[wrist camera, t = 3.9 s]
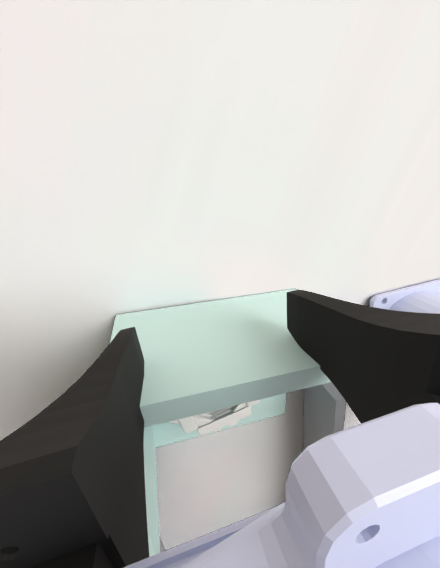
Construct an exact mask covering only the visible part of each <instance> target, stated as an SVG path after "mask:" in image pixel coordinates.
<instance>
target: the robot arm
mask: <svg viewBox="0 0 440 568" xmlns="http://www.w3.org/2000/svg"><path fill="white" fill-rule="evenodd" d="M287 329H288V330H289V332H290V334H291V335H292V337H293V338H294V340H295V341H296V342H297V344H298V345H299V346H300V347H301V349H302V350H304V351H305V352H306V353H307V354H308V355H309V356H310V357H311V358H312V359H313V360H314V361H316V362H317V363H318V364H319V365H320V369H321V371H322V372H323V373H324V374H325V375H326V376H327V377H328V378H329V380H330V381H331V382H332V383H333V384H334V386H335V387H336V388H337V390H338V391H339V392H340V394H341V395H342V397H343V398H344V399H345V401H346V402H347V403H348V405H349V406H350V408H351V409H352V411H353V412H354V414H355V415H356V416H357V418H358V419H359V421H360V422H361V424H359V425H356V426H353V427H350V428H348V429H345V430H342V431H339V432H336V433H333V434H331V435H328V436H326V437H324V438H322V439H320V440H319V441H317V442H315V443H313V444H311V445H309V446H308V447H306V449H305V450H304V451H303V452H302V453H301V454H300V455H299V456H298V457H297V458H296V459H295V460H294V461H293V463H292V465H291V468H290V471H289V475H288V478H287V481H286V484H285V499H286V501H285V502H284V503H282V504H280V505H279V506H277V507H274V508H272V509H269V510H267V511H264V512H262V513H259V514H257V515H254V516H252V517H249V518H247V519H244V520H242V521H239V522H237V523H234V524H231V525H229V526H226V527H224V528H221V529H219V530H216V531H214V532H211V533H209V534H206V535H204V536H201V537H199V538H196V539H194V540H191V541H189V542H186V543H184V544H181V545H179V546H176V547H174V548H171V549H169V550H166V551H163V552H161V553H158V554H156V555H153V556H151V557H149V544H148V529H147V513H146V495H145V474H144V446H143V443H144V419H143V416H142V413H141V409H140V400H141V394H142V387H143V380H144V357H143V353H142V350H141V346H140V343H139V339H138V336H137V332H136V329H135V327H131V328H127V329H122V330H120V331H119V332H118V333H117V335H116V336H115V337H114V339H113V340H112V341H111V343H110V344H109V345H108V347H107V348H106V349H105V350H104V352H103V353H102V354H101V355H100V357H99V358H98V359H97V360H96V361H95V362H94V363H93V364H92V366H91V367H90V368H89V369H88V370H87V371H86V372H85V373H84V375H83V376H82V377H81V378H80V379H79V380H78V381H77V382H76V383H75V384H73V385H72V386H71V387H70V388H69V389H68V390H67V391H66V392H65V393H64V394H63V395H61V396H60V397H59V398H58V399H57V400H55V401H54V402H53V403H52V404H50V405H49V406H48V407H47V408H45V409H44V410H43V411H42V412H41V413H39V414H38V415H37V416H35V417H34V418H33V419H31V420H30V421H29V422H27V423H26V424H24V425H23V426H22V427H20V428H19V429H17V430H16V431H14V432H13V433H12V434H10V435H9V436H7V437H6V438H4V439H3V440H1V441H0V568H440V279H438V280H434V281H430V282H426V283H422V284H418V285H414V286H410V287H406V288H402V289H398V290H394V291H390V292H386V293H382V294H378V295H375V296H373V297H372V298H371V300H370V306H364V305H359V304H355V303H350V302H346V301H342V300H338V299H334V298H331V297H327V296H323V295H320V294H316V293H312V292H308V291H303V290H294V291H290V292H287Z"/></svg>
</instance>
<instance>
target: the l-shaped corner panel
mask: <svg viewBox="0 0 440 568" xmlns="http://www.w3.org/2000/svg"><path fill="white" fill-rule="evenodd" d="M294 290H297V289H290V290H283V291H277V292H270V293H263V294H256V295H249V296H242V297H235V298H229V299H222V300H215V301H208V302H201V303H194V304H187V305H180V306H174V307H167V308H160V309H153V310H146V311H139V312H132V313H125V314H119V315H116V317H115V321H114V326H113V330H112V335H111V340H110V343H111V341H112V340H113V339H114V337H115V336H116V335H117V333H118V332H119V331H120V330H122V329H127V328H131V327H135V329H136V332H137V336H138V339H139V343H140V346H141V350H142V353H143V357H144V380H143V387H142V394H141V400H140V409H141V413H142V416H143V419H144V443H143V446H144V474H145V495H146V513H147V529H148V544H149V557H151V556H153V555H156V554H158V553H160V537H159V511H158V486H157V460H156V448H157V447H161V446H165V445H169V444H172V443H176V442H180V441H184V440H188V439H191V438H195V437H199V436H204V435H207V434H210V433H214V432H219V431H222V430H225V429H229V428H233V427H237V426H241V425H244V424H248V423H252V422H256V421H260V420H263V419H267V418H271V417H275V416H279V415H282V414H285V408H286V396H287V393H288V392H293V391H297V390H301V389H305V388H309V387H313V386H317V385H321V384H325V383H329V382H331V381H330V380H329V378H328V377H327V376H326V375H325V374H324V373H323V372H322V371H321V369H320V365H319V364H318V363H317V362H316V361H314V360H313V359H312V358H311V357H310V356H309V355H308V354H307V353H306V352H305V351H304V350H302V349H301V347H300V346H299V345H298V344H297V342H296V341H295V340H294V338H293V337H292V335H291V334H290V332H289V330H288V329H287V292H290V291H294Z"/></svg>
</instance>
